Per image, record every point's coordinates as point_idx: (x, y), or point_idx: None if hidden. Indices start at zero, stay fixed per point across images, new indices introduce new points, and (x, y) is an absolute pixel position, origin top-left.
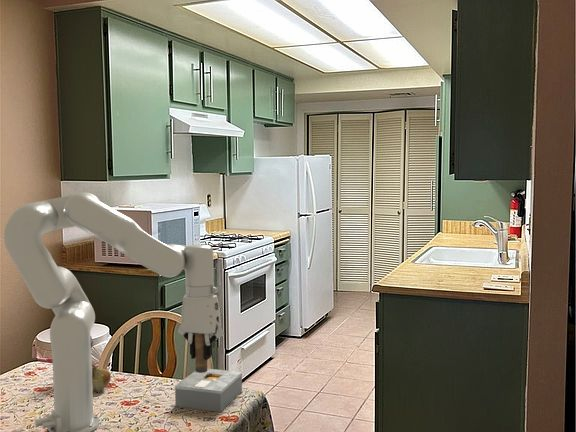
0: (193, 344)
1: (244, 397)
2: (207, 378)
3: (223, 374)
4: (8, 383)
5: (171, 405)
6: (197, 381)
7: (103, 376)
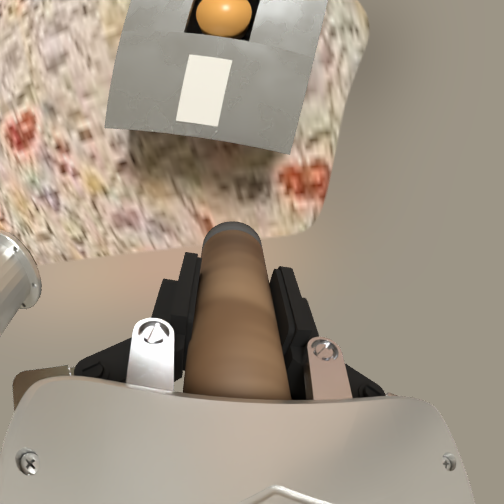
0: (183, 367)
1: (329, 36)
2: (201, 9)
3: None
4: None
5: None
6: (174, 68)
7: None
